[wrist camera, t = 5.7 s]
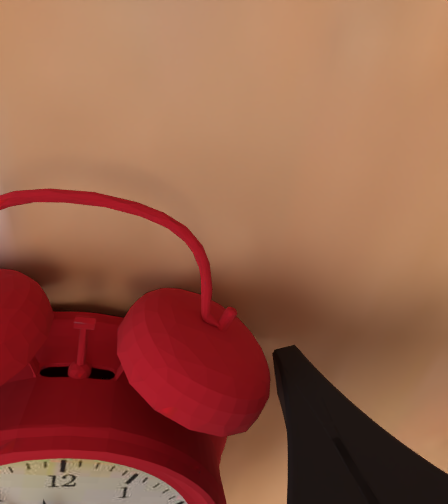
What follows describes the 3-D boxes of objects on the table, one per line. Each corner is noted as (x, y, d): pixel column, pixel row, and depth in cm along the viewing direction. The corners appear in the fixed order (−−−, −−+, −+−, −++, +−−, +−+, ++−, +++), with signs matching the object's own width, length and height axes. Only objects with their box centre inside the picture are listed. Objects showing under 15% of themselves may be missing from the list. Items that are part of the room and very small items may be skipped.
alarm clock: (-148, 683, 11) (-1095, 508, 2) (-52, 456, 16) (-192, 105, 7) (196, 634, 14) (467, 470, 5) (188, 455, 18) (315, 205, 9)
